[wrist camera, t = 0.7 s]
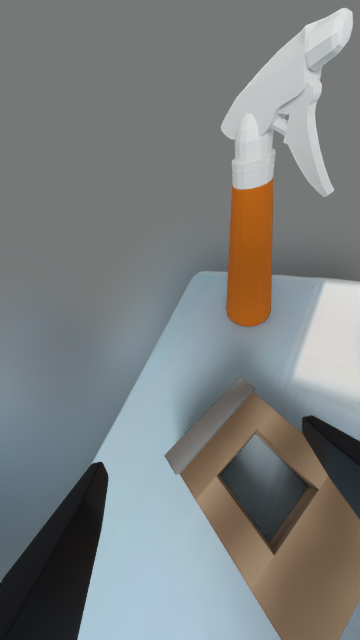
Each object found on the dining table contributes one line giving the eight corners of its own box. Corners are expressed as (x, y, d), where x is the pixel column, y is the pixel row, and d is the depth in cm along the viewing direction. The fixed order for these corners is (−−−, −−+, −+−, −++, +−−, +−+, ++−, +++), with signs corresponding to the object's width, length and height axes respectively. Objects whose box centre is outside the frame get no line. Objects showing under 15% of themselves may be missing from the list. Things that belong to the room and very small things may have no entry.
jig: (375, 511, 16) (416, 524, 12) (298, 646, 13) (320, 716, 9) (241, 390, 24) (240, 376, 21) (177, 458, 22) (164, 455, 18)
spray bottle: (266, 351, 27) (336, 7, 7) (218, 310, 34) (182, 78, 14) (301, 323, 28) (449, -38, 8) (248, 289, 35) (255, 48, 15)
